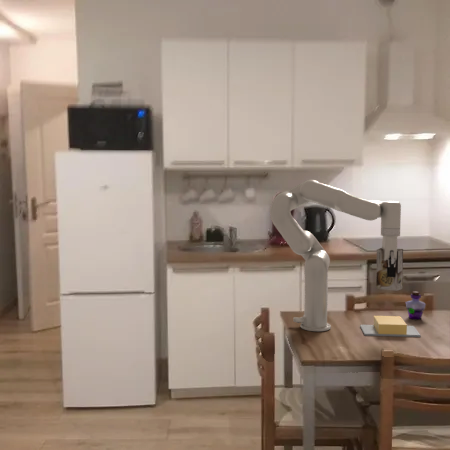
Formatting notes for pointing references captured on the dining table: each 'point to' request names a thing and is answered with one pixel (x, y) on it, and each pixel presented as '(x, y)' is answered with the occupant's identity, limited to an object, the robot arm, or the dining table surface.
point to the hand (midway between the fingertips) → (389, 274)
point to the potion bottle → (415, 306)
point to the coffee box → (381, 277)
